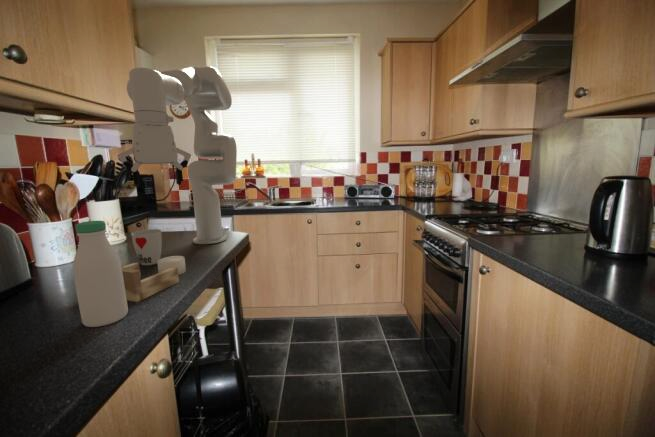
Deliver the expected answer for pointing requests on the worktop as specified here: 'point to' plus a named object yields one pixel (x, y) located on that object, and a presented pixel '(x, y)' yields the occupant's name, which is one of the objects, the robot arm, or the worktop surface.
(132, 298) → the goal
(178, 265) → the cream egg shape
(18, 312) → the worktop surface
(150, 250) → the cup
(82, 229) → the milk bottle
